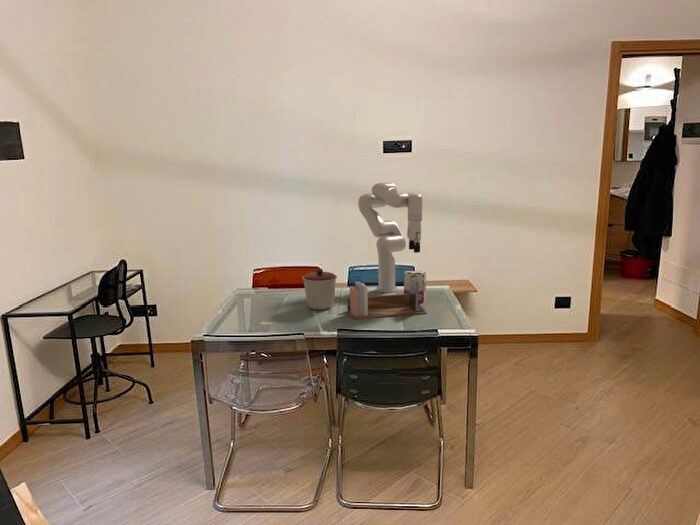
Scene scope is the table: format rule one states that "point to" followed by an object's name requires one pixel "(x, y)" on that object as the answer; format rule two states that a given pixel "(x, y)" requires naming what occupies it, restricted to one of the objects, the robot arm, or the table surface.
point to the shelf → (387, 306)
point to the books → (359, 299)
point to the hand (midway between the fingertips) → (414, 250)
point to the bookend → (414, 296)
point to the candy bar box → (421, 280)
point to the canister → (320, 289)
